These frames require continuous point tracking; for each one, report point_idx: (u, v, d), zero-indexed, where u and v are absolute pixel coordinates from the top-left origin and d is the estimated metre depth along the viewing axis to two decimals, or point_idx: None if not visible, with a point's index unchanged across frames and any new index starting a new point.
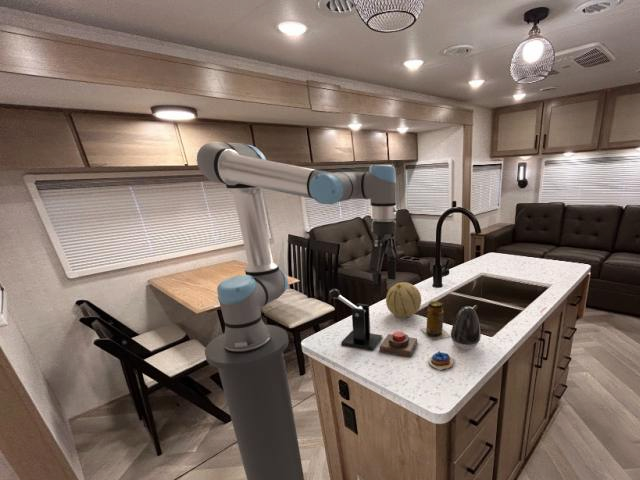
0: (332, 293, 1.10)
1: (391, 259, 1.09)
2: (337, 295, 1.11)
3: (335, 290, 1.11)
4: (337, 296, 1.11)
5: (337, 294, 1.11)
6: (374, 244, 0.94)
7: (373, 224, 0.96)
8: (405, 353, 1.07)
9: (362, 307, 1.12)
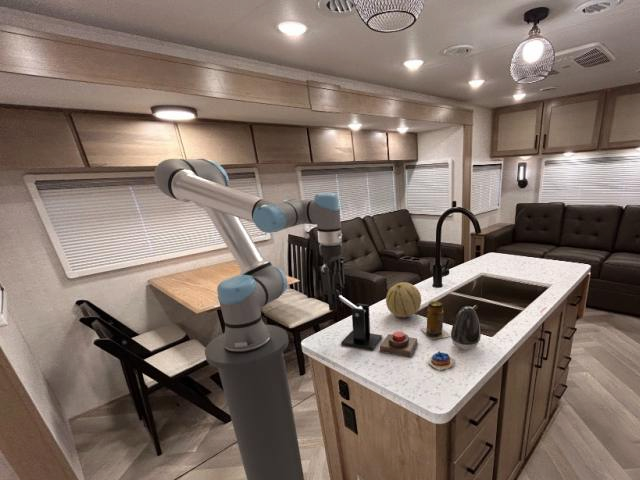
0: None
1: (337, 286, 1.14)
2: (337, 295, 1.11)
3: (335, 290, 1.11)
4: (337, 296, 1.11)
5: (337, 294, 1.11)
6: (321, 271, 1.03)
7: (320, 247, 1.03)
8: (405, 353, 1.07)
9: (362, 307, 1.12)
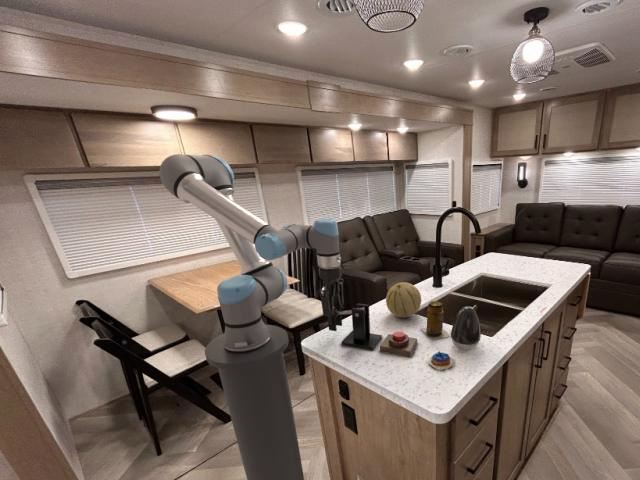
0: None
1: (336, 307, 1.17)
2: (334, 312, 1.14)
3: None
4: (335, 312, 1.14)
5: (334, 311, 1.14)
6: (321, 294, 1.06)
7: (319, 271, 1.07)
8: (405, 353, 1.07)
9: (360, 307, 1.12)
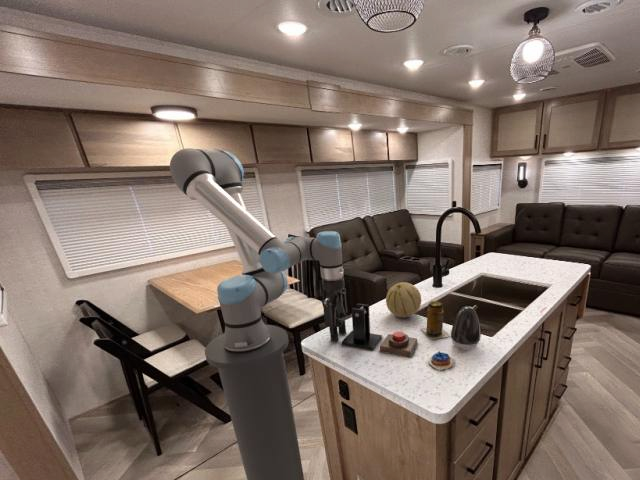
0: None
1: (340, 315, 1.19)
2: (337, 320, 1.15)
3: None
4: (338, 321, 1.15)
5: (337, 319, 1.15)
6: (324, 305, 1.07)
7: (323, 282, 1.08)
8: (405, 353, 1.07)
9: None
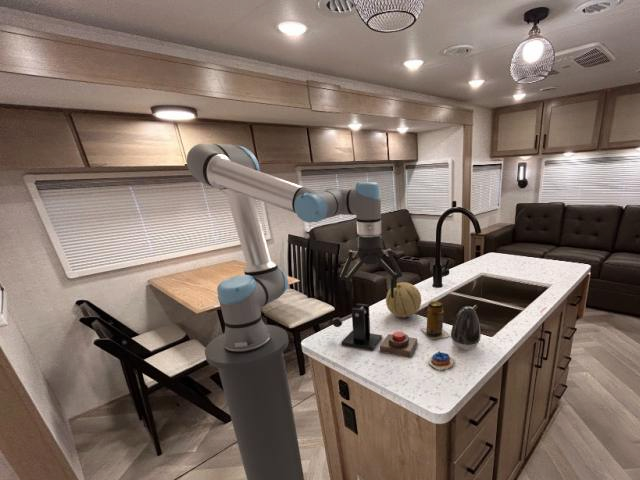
0: (333, 323, 1.15)
1: (392, 277, 1.06)
2: (337, 320, 1.15)
3: (333, 319, 1.16)
4: (338, 321, 1.15)
5: (337, 319, 1.15)
6: None
7: None
8: (405, 353, 1.07)
9: None
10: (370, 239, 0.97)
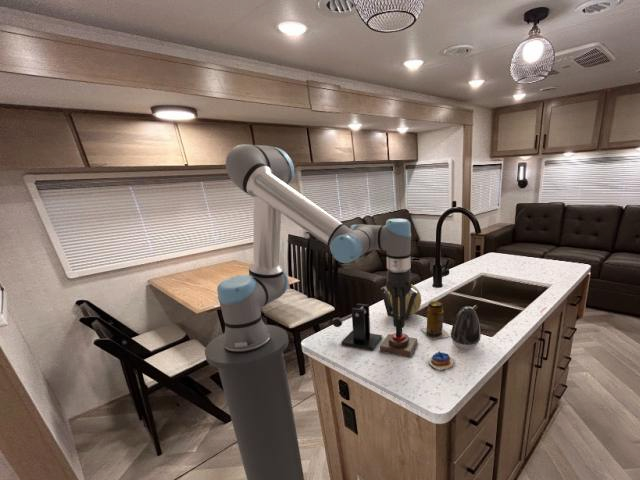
0: (333, 323, 1.15)
1: None
2: (337, 320, 1.15)
3: (333, 319, 1.16)
4: (338, 321, 1.15)
5: (337, 319, 1.15)
6: None
7: None
8: (405, 353, 1.07)
9: None
10: (395, 274, 0.98)
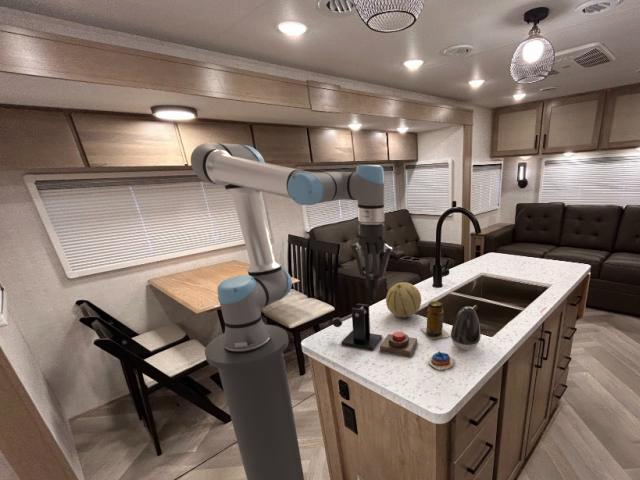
0: (333, 323, 1.15)
1: None
2: (337, 320, 1.15)
3: (333, 319, 1.16)
4: (338, 321, 1.15)
5: (337, 319, 1.15)
6: None
7: None
8: (405, 353, 1.07)
9: None
10: (367, 227, 0.90)
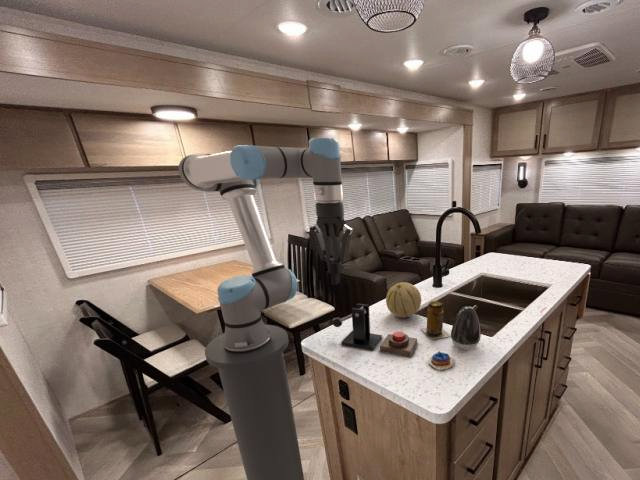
0: (333, 323, 1.15)
1: None
2: (337, 320, 1.15)
3: (333, 319, 1.16)
4: (338, 321, 1.15)
5: (337, 319, 1.15)
6: None
7: None
8: (405, 353, 1.07)
9: None
10: (322, 205, 0.84)
